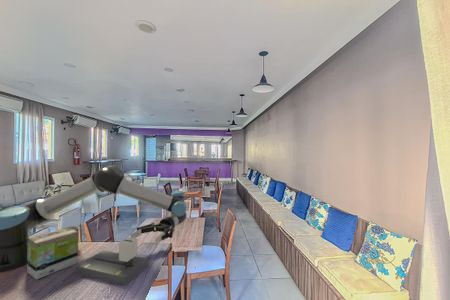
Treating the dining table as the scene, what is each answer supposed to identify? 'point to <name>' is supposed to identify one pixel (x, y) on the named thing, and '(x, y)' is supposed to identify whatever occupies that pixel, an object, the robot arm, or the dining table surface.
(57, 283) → the dining table surface
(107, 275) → the console
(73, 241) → the tea box
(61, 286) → the dining table surface
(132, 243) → the fader knob
